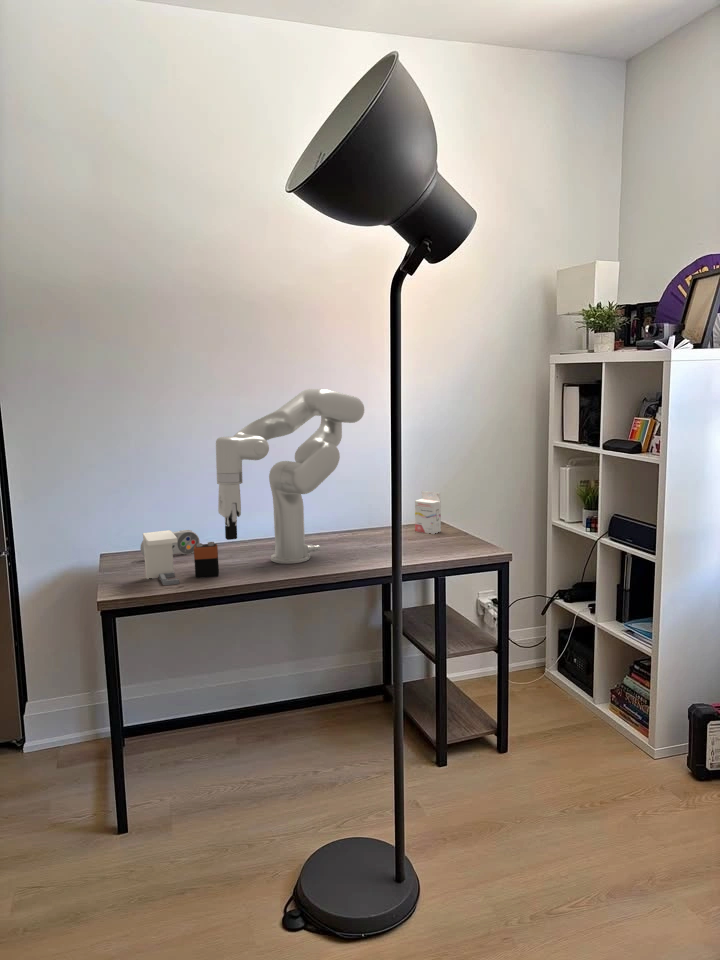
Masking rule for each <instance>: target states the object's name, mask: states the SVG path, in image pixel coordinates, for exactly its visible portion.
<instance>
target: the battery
mask: <svg viewBox="0 0 720 960" xmlns="http://www.w3.org/2000/svg"><path fill="white" fill-rule="evenodd" d="M218 548H219V547H218V544H217V543H215V542H214V541H209V542H208V541H207V543H206V544H203V543H201V542H200V543H198V544H197V545H195V546H194V553H193V557H194V560H193V561H194V572H195V578H196V579H199V578H201V579H203V578H213V577H214V578H215V577H219V576H220V569H219V568H220V567H219V564H220V563H219V552H218V551H219V549H218Z"/></svg>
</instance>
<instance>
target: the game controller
mask: <svg viewBox="0 0 720 960" xmlns="http://www.w3.org/2000/svg"><path fill="white" fill-rule="evenodd" d="M172 533H173V534H174V535H175V536H176V537H177V542H176V543H172V551H173V555H177V554H182V555H185V554H188V555H192V554H194V546H195V545H197V544H198V543H201V541H200V537H199V535H198V534H197V533H196V532H194V531H193V530H191V529H183V530H179V531H172ZM140 552H141V555H142V556H143V557H144V558H145V556H144V542H143V540H142V542H141V544H140ZM191 553H192V554H191Z"/></svg>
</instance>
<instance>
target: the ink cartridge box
mask: <svg viewBox="0 0 720 960" xmlns="http://www.w3.org/2000/svg"><path fill="white" fill-rule="evenodd" d="M431 495H432V496H431ZM441 504H442V502H441V492H437V491H427V490H422V491H421V498H419V499H416V500H414V531H415V532H416V531H417V533H422V532H423V534H429V533H431V535H435V533H436V534H438V532H439V533H441V532H442V530H441V528H442V524H441V523H442V521H441V520H442V516H441V515H442V510H441V509H442V508H441V507H442V505H441Z"/></svg>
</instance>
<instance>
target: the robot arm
mask: <svg viewBox="0 0 720 960" xmlns="http://www.w3.org/2000/svg"><path fill="white" fill-rule="evenodd" d="M364 414H365V405H364V403H363V401H362V400H361V399H360V398H358V397H357V396H354V395H351V394H346V393H343V392H338V391H335V390H330V389H326V388H307V389H304V390H302V391H301V392H299V393H298V394H296V395H295V396H294V397H292V398H291V399H290V400H289V401H287V402H285V404H283V405H282V406H280V407H279V408H278V409H276V410H274V411H273V412H270V413H269V414H266V415H264V416H263V417H260V418H258V419H256V420H254V421H252V422H250V423H248V424H247V425H245V426H244V427H243V428H241V429H240V430H238V431H237V432H236V433H235V434H234V435H233V436H219V437H218V438H217V439H216V440H215V461H216V466H215V467H216V484H218V496H217V497H218V501H217V502H218V505H217V507H218V509H217V511H218V514H220V516H221V517H223V518H224V525H225V526H224V535H225V536H224V537H225V539H226V541H227V540H228V541H229V540H237V539H238V518H239V517H241V514H242V502H241V501H242V499H241V497H242V496H241V488H240V487H241V486H240V484H243V460H248V461H260V460H263V459H264V458H265V457H266V456H267V455H268V453H269V451H270V445H269V442H268V441H269V440H272V439H275V438H280V437H284V436H287V435H291V434H293V433H294V432H295V431H297V430H298V429H299V428H300V427H302V426H303V425H304V424H306V423H308V421H309V420H311V419H312V418H314V417H316V416H318V417H319V416H320V424H319V427H318V428H317V430H316V431H315V432H313V434H311V435H310V436H309V437H308V438H307V439H306V440H305V441H304V442H303V443H301V444H300V445H299V447H298V448H297V449H296V450H295V453H294V460H295V461H289V460H281V461H278V462H276V463H275V464H273V466H271V468H270V471H269V474H268V481H269V486H270V491H271V494H272V504H273V506H272V507H273V528H274V530H273V531H274V548H275V550H274V551H275V552H274V553H273V554H272V555H270V560H271V562H274V563H276V564H282V565H283V564H287V565H289V564H292V565H293V564H299V563H304V562H307V561H309V560H310V559H311V552H318V551H320V544H315V545H314V544H307V543H305V542H306V541H305V537H306V536H305V516H304V515H305V513H304V510H305V509H304V508H305V507H304V501H303V500H304V499H303V496H302V495H307V494H309V493H312V492H313V491H314V490H316V489H317V488H318V487H319V486H320V485H321V484H322V483H323V482H324V481H325V480H326V479H327V478H328V477H329V476H330V475H332V473H333V472H334V471H335V470H336V469H337V468H338V465H339V462H340V458H341V455H340V454H341V453H340V451H339V448H338V446H339V445H340V443H341V442H342V438H343V424H344V423H347V424H348V423H349V424H355V423H357V422H359V421H360V420H362V418H363V417H364ZM342 423H343V424H342Z"/></svg>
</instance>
